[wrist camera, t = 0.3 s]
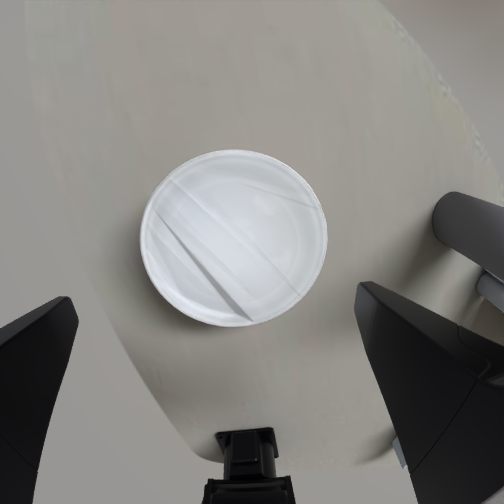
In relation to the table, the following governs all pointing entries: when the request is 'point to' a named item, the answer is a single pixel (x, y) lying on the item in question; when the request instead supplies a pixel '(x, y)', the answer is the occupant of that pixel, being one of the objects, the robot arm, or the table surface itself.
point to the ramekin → (233, 238)
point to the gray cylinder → (472, 229)
